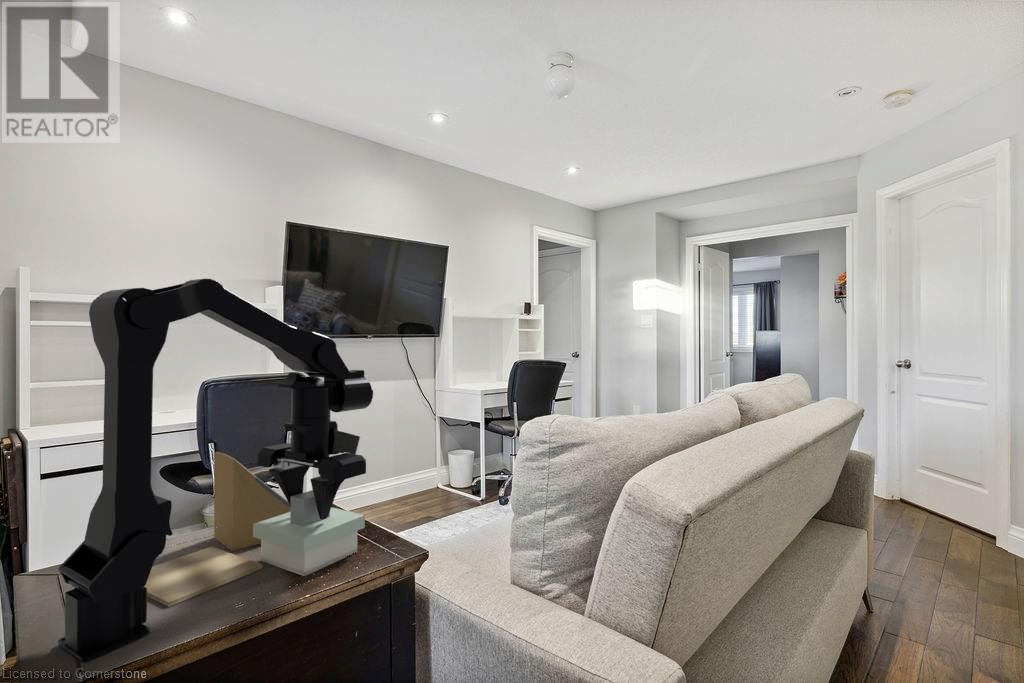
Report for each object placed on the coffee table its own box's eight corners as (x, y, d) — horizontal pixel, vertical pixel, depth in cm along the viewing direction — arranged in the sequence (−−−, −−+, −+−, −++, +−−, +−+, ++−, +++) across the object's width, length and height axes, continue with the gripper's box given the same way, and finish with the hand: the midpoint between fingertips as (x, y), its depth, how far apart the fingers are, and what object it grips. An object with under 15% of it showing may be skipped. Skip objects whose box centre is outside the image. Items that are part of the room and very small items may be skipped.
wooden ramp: (322, 527, 95) (323, 445, 95) (232, 552, 84) (233, 458, 84) (300, 516, 101) (300, 438, 101) (213, 538, 89) (214, 450, 89)
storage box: (304, 576, 75) (304, 541, 75) (261, 561, 80) (261, 528, 80) (357, 552, 84) (357, 520, 84) (314, 539, 89) (315, 510, 89)
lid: (303, 553, 74) (304, 510, 74) (253, 537, 80) (253, 497, 80) (364, 527, 84) (365, 490, 84) (315, 515, 90) (316, 480, 90)
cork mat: (168, 606, 66) (168, 602, 66) (118, 582, 73) (118, 578, 73) (262, 568, 77) (262, 564, 77) (211, 550, 84) (211, 546, 84)
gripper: (391, 414, 84) (391, 511, 84) (313, 406, 93) (312, 493, 93) (337, 424, 74) (336, 533, 74) (255, 413, 84) (255, 510, 84)
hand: (310, 515), depth 82 cm, fingers open, 6 cm apart
